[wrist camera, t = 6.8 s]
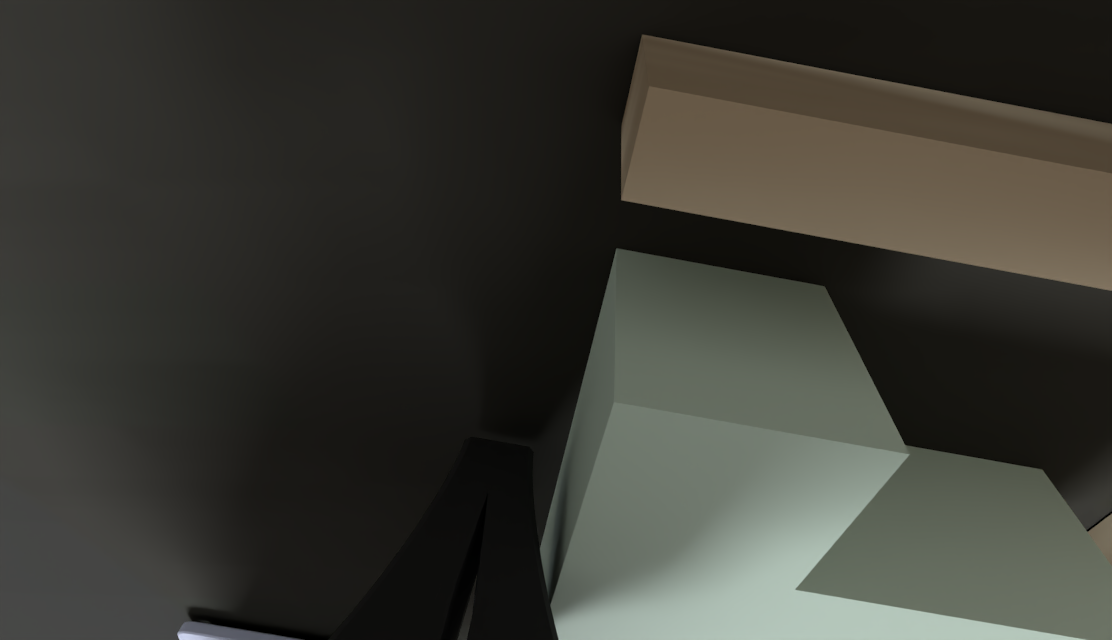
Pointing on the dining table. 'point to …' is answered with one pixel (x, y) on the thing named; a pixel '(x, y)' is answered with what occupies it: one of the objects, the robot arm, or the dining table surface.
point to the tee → (786, 488)
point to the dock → (870, 165)
